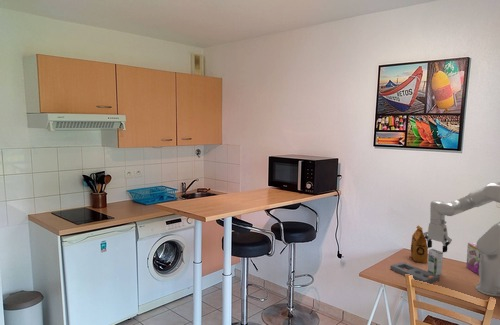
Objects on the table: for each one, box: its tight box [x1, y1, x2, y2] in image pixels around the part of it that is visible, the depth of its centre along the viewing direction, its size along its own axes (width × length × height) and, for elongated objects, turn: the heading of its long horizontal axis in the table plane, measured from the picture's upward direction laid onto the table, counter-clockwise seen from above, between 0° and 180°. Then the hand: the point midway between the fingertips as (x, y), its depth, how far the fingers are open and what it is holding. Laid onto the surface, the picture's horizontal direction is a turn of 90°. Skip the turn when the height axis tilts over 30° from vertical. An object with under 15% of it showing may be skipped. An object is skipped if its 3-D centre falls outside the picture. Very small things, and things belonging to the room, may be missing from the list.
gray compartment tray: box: [390, 261, 440, 284], centre depth 202 cm, size 24×12×3 cm, turn 26°
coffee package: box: [410, 225, 429, 264], centre depth 225 cm, size 10×12×22 cm
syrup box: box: [426, 248, 444, 276], centre depth 204 cm, size 6×6×14 cm
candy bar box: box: [466, 242, 482, 276], centre depth 207 cm, size 11×5×16 cm, turn 1°
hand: (437, 249), depth 202 cm, fingers open, 9 cm apart
